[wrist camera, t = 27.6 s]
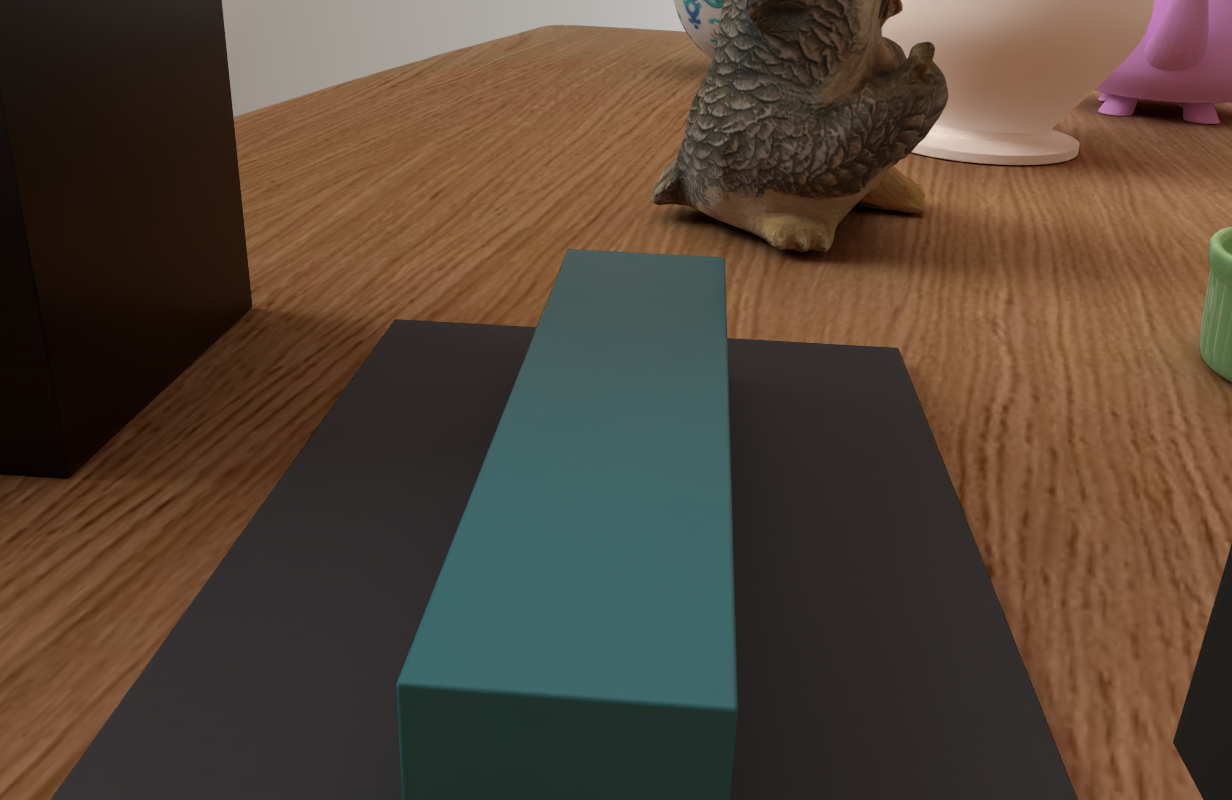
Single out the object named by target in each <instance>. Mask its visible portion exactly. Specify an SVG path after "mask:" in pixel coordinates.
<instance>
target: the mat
mask: <svg viewBox="0 0 1232 800" xmlns="http://www.w3.org/2000/svg"><path fill="white" fill-rule="evenodd" d="M536 328H537V327H521V326H503V325H486V324H468V323H451V322H433V321H415V320H398V319H396V320H394V322H393V323H392V324H391V326H390V327H389V329H388V330H387V331H386V333H385V334H384V336H383V337H382V338H381V340H380V341H379V343H378V344H377V345H376V347H375V348H374V349H373V351H372V352H371V354H370V355H369V356H368V358H367V359H366V361H365V362H364V363H363V365H362V366H361V368H360V369H359V370H358V372H357V373H356V375H355V376H354V377H353V379H352V380H351V382H350V383H349V384H348V386H347V387H346V389H345V390H344V391H343V393H342V394H341V395H340V397H339V398H338V400H337V401H336V402H335V404H334V405H333V407H332V408H331V409H330V411H329V412H328V414H327V415H326V416H325V418H324V419H323V421H322V422H321V423H320V425H319V426H318V428H317V429H316V430H315V432H314V433H313V435H312V436H311V437H310V439H309V440H308V442H307V443H306V444H305V446H304V447H303V448H302V450H301V451H300V453H299V454H298V455H297V457H296V458H295V460H294V461H293V462H292V464H291V465H290V467H289V468H288V469H287V471H286V472H285V474H284V475H283V476H282V478H281V479H280V481H279V482H278V483H277V485H276V486H275V488H274V489H273V490H272V492H271V493H270V494H269V496H268V497H267V499H266V500H265V501H264V503H263V504H262V506H261V507H260V508H259V510H258V511H257V513H256V514H255V515H254V517H253V518H252V520H251V521H250V522H249V524H248V525H247V527H246V528H245V529H244V531H243V532H242V534H241V535H240V536H239V538H238V539H237V540H236V542H235V543H234V545H233V546H232V547H231V549H230V550H229V552H228V553H227V554H226V556H225V557H224V559H223V560H222V561H221V563H220V564H219V566H218V567H217V568H216V570H215V571H214V573H213V574H212V575H211V577H210V578H209V580H208V581H207V582H206V584H205V585H204V586H203V588H202V589H201V591H200V592H199V593H198V595H197V596H196V598H195V599H194V600H193V602H192V603H191V605H190V606H189V607H188V609H187V610H186V612H185V613H184V614H183V616H182V617H181V619H180V620H179V621H178V623H177V624H176V626H175V627H174V628H173V630H172V631H171V633H170V634H169V635H168V637H167V638H166V639H165V641H164V642H163V644H162V645H161V646H160V648H159V649H158V651H157V652H156V653H155V655H154V656H153V658H152V659H151V660H150V662H149V663H148V665H147V666H146V667H145V669H144V670H143V672H142V673H141V674H140V676H139V677H138V679H137V680H136V681H135V683H134V684H133V685H132V687H131V688H130V690H129V691H128V692H127V694H126V695H125V697H124V698H123V699H122V701H121V702H120V704H119V705H118V706H117V708H116V709H115V711H114V712H113V713H112V715H111V716H110V718H109V719H108V720H107V722H106V723H105V725H104V726H103V727H102V729H101V730H100V731H99V733H98V734H97V736H96V737H95V738H94V740H93V741H92V743H91V744H90V745H89V747H88V748H87V750H86V751H85V752H84V754H83V755H82V757H81V758H80V759H79V761H78V762H77V764H76V765H75V766H74V768H73V769H72V771H71V772H70V773H69V775H68V776H67V778H66V779H65V780H64V782H63V783H62V784H61V786H60V787H59V789H58V790H57V791H56V793H55V794H54V796H53V797H52V798H51V800H403V799H402V781H401V763H400V744H399V726H398V708H397V689H396V684H397V681H398V679H399V676H400V673H401V671H402V668H403V666H404V663H405V661H406V658H407V656H408V653H409V651H410V648H411V646H412V643H413V640H414V638H415V635H416V633H417V630H418V628H419V625H420V623H421V620H422V618H423V615H424V613H425V610H426V607H427V605H428V602H429V600H430V597H431V595H432V592H433V590H434V587H435V585H436V582H437V580H438V577H439V574H440V572H441V569H442V567H443V564H444V562H445V559H446V557H447V554H448V552H449V549H450V547H451V544H452V541H453V539H454V536H455V534H456V531H457V529H458V526H459V524H460V521H461V519H462V516H463V514H464V511H465V508H466V506H467V503H468V501H469V498H470V496H471V493H472V491H473V488H474V486H475V483H476V481H477V478H478V475H479V473H480V470H481V468H482V465H483V463H484V460H485V458H486V455H487V453H488V450H489V448H490V445H491V442H492V440H493V437H494V435H495V432H496V430H497V427H498V425H499V422H500V420H501V417H502V414H503V412H504V409H505V407H506V404H507V402H508V399H509V397H510V394H511V392H512V389H513V387H514V384H515V381H516V379H517V376H518V374H519V371H520V369H521V366H522V364H523V361H524V359H525V356H526V354H527V351H528V348H529V346H530V343H531V341H532V338H533V336H534V333H535V331H536ZM727 350H728V384H729V418H730V452H731V486H732V520H733V554H734V588H735V622H736V656H737V690H738V716H737V727H736V738H735V748H734V759H733V770H732V781H731V791H730V800H1078V799H1077V796H1076V794H1075V791H1074V789H1073V786H1072V784H1071V781H1070V779H1069V776H1068V774H1067V771H1066V769H1065V766H1064V764H1063V761H1062V759H1061V756H1060V754H1059V751H1058V749H1057V746H1056V744H1055V741H1054V739H1053V736H1052V734H1051V731H1050V729H1049V726H1048V723H1047V721H1046V718H1045V716H1044V713H1043V711H1042V708H1041V706H1040V703H1039V701H1038V698H1037V696H1036V693H1035V691H1034V688H1033V686H1032V683H1031V681H1030V678H1029V676H1028V673H1027V671H1026V668H1025V666H1024V663H1023V661H1022V658H1021V656H1020V653H1019V651H1018V648H1017V646H1016V643H1015V640H1014V638H1013V635H1012V633H1011V630H1010V628H1009V625H1008V623H1007V620H1006V618H1005V615H1004V613H1003V610H1002V608H1001V605H1000V603H999V600H998V598H997V595H996V593H995V590H994V588H993V585H992V583H991V580H990V578H989V575H988V573H987V570H986V568H985V565H984V563H983V560H982V557H981V555H980V552H979V550H978V547H977V545H976V542H975V540H974V537H973V535H972V532H971V530H970V527H969V525H968V522H967V520H966V517H965V515H964V512H963V510H962V507H961V505H960V502H959V500H958V497H957V495H956V492H955V490H954V487H953V485H952V482H951V480H950V477H949V474H948V472H947V469H946V467H945V464H944V462H943V459H942V457H941V454H940V452H939V449H938V447H937V444H936V442H935V439H934V437H933V434H932V432H931V429H930V427H929V424H928V422H927V419H926V417H925V414H924V412H923V409H922V407H921V404H920V402H919V399H918V397H917V394H916V391H915V389H914V386H913V384H912V381H911V379H910V376H909V374H908V371H907V369H906V366H905V364H904V361H903V359H902V356H901V354H900V351H899V349H898V348H889V347H871V346H854V345H836V344H819V343H801V342H784V341H766V340H749V339H731V338H727Z"/></svg>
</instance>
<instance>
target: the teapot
mask: <svg viewBox="0 0 1232 800" xmlns="http://www.w3.org/2000/svg"><path fill="white" fill-rule="evenodd" d="M1095 90H1096V91H1100V92H1103V94H1102V95H1101V96H1100V97H1099V98H1098V100H1101V101H1105V102H1104V103H1103V104H1102V106H1101V107H1100V108H1099V110H1098V112H1100V113H1103V114H1109V115H1118V116H1128V115H1132V114H1133V111H1134V109H1135V107H1136V104H1137V102H1138V99H1148V100H1157V101H1169V102H1179V107H1182V108H1183V119H1184V120H1186V121H1190V122H1196V123H1205V124H1217V123H1220V122H1219V119H1218V116H1217V112H1216V109H1215V106H1214V103H1227V102H1232V0H1154V7H1153V12H1152V16H1151V20H1150V23H1149V26H1148V28H1147V30H1146V32H1145V34H1144V36H1143V38H1142V40H1141V41H1140V43H1139V44H1138V45H1137V47H1136V48H1135V49H1134V50H1133V52H1132V53H1131V54H1130V55H1129V56H1128V57H1127V58H1126V60H1125V61H1124V62H1123V63H1122V64H1121V65H1120V66H1119V67H1118V68H1117V69H1116V70H1115V71H1114V72H1113V73H1112V74H1111V75H1110V76H1109V77H1108V78H1107V79H1106V80H1105V81H1104V82H1103V83H1102V84H1100V85H1099V86H1098V87H1097V88H1096V89H1095Z"/></svg>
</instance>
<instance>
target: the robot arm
mask: <svg viewBox="0 0 1232 800" xmlns="http://www.w3.org/2000/svg"><path fill="white" fill-rule="evenodd" d="M1173 743H1174V745H1175V747H1176V749H1177V751H1178V752H1179V754H1180V756H1181V758H1182V760H1183V762H1184V764H1185V766H1186V767H1187V769H1188V771H1189V773H1190V775H1191V777H1192V779H1193V781H1194V783H1195V784H1196V786H1197V788H1198V790H1199V792H1200V794H1201V796H1202V798H1203V799H1204V800H1232V545H1231V548H1230V552H1229V555H1228V559H1227V562H1226V565H1225V569H1224V572H1223V575H1222V579H1221V582H1220V586H1219V589H1218V592H1217V596H1216V599H1215V603H1214V606H1213V609H1212V613H1211V616H1210V619H1209V623H1208V626H1207V630H1206V633H1205V636H1204V640H1203V643H1202V646H1201V650H1200V653H1199V657H1198V660H1197V663H1196V667H1195V670H1194V674H1193V677H1192V680H1191V684H1190V687H1189V690H1188V694H1187V697H1186V701H1185V704H1184V707H1183V711H1182V714H1181V717H1180V721H1179V724H1178V728H1177V731H1176V734H1175V738H1174V741H1173Z"/></svg>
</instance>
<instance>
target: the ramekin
mask: <svg viewBox="0 0 1232 800" xmlns="http://www.w3.org/2000/svg"><path fill="white" fill-rule="evenodd" d="M1208 258H1209V264H1210V273H1209V280H1208V286H1207V292H1206V298H1205V305H1204V311H1203V318H1202V324H1201V332H1200V344H1199V345H1200V353H1201V355H1202V357H1203V360H1204V361H1205V362H1206V363H1207V365H1208V366H1209V367H1210V368H1211V369H1212V370H1214V371H1215V372H1216V373H1217V374H1219V375H1220V376H1222V377H1223V378H1225V379H1226V380H1228V381H1230V382H1231V383H1232V227H1228V228H1225V229H1222V230H1220V231H1218V232H1216V233H1215V234H1214V235H1213V236H1212V237H1211V239H1210V241H1209V249H1208Z"/></svg>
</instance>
